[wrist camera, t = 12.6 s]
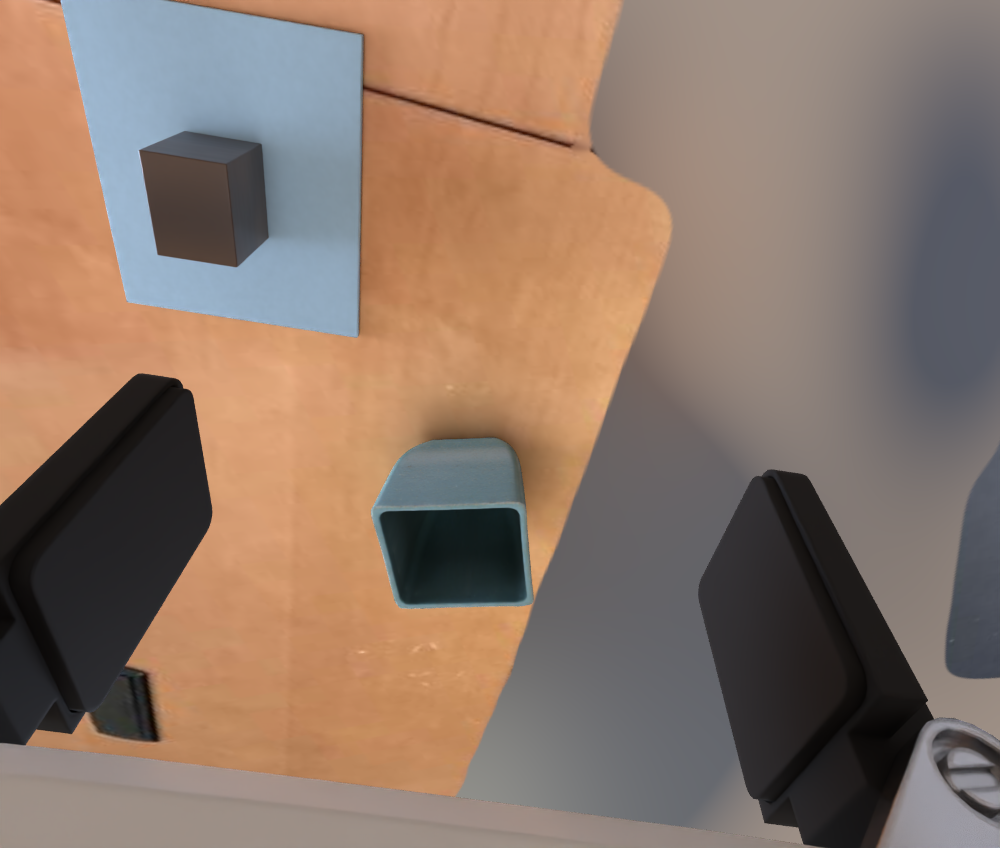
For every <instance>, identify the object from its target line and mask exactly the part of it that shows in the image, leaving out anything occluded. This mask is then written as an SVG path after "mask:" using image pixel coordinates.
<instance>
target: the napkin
mask: <svg viewBox="0 0 1000 848" xmlns="http://www.w3.org/2000/svg"><path fill="white" fill-rule="evenodd" d="M61 4H62V9H63V13H64V18H65V22H66V27H67V32H68V36H69V41H70V45H71V50H72V54H73V59H74V63H75V68H76V72H77V77H78V81H79V86H80V91H81V95H82V100H83V104H84V109H85V113H86V118H87V122H88V127H89V131H90V136H91V140H92V145H93V150H94V154H95V159H96V163H97V168H98V172H99V177H100V181H101V186H102V190H103V195H104V199H105V204H106V209H107V213H108V218H109V222H110V227H111V231H112V236H113V240H114V245H115V249H116V254H117V258H118V263H119V268H120V272H121V277H122V281H123V286H124V290H125V295H126V299H127V302H130V303H136V304H143V305H149V306H156V307H162V308H169V309H175V310H182V311H188V312H195V313H201V314H207V315H214V316H220V317H227V318H233V319H240V320H246V321H253V322H259V323H266V324H272V325H278V326H285V327H291V328H298V329H304V330H311V331H317V332H324V333H330V334H337V335H343V336H350V337H356V338H357V337H358V335H359V295H360V232H361V168H362V105H363V41H364V35H363V34H359V33H353V32H347V31H342V30H336V29H330V28H325V27H319V26H313V25H308V24H302V23H296V22H290V21H285V20H279V19H273V18H268V17H262V16H256V15H251V14H245V13H239V12H234V11H228V10H222V9H216V8H211V7H205V6H199V5H194V4H188V3H182V2H177V1H171V0H61ZM183 131H188V132H194V133H200V134H206V135H212V136H218V137H224V138H230V139H236V140H242V141H248V142H254V143H260V144H262V153H263V167H264V181H265V194H266V208H267V222H268V236H269V238H268V239H267V240H266V241H265V242H264V243H263V244H262V245H261V246H260V247H259V248H257V249H256V250H255V251H254V252H253V253H252V254H251V255H250V256H249V257H248V258H247V259H246V260H245V261H244V262H243V263H241V264H240V265H239V266H238V267H230V266H223V265H217V264H211V263H204V262H198V261H192V260H185V259H179V258H173V257H166V256H160V255H157V250H156V245H155V239H154V234H153V228H152V223H151V217H150V212H149V206H148V201H147V195H146V190H145V184H144V179H143V173H142V168H141V162H140V157H139V150H140V149H142V148H145V147H147V146H149V145H152V144H154V143H157V142H159V141H161V140H164V139H166V138H169V137H171V136H174V135H176V134H178V133H181V132H183Z"/></svg>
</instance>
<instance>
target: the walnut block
mask: <svg viewBox="0 0 1000 848" xmlns="http://www.w3.org/2000/svg"><path fill="white" fill-rule="evenodd" d="M139 157H140V162H141V168H142V173H143V179H144V184H145V190H146V195H147V201H148V206H149V212H150V217H151V223H152V228H153V234H154V239H155V245H156V250H157V255H160V256H166V257H173V258H179V259H185V260H192V261H198V262H204V263H211V264H217V265H223V266H230V267H238V266H239V265H240V264H241V263H243V262H244V261H245V260H246V259H247V258H248V257H249V256H250V255H251V254H252V253H253V252H254V251H255V250H256V249H257V248H259V247H260V246H261V245H262V244H263V243H264V242H265V241H266V240H267V239H268V238H269V236H268V222H267V208H266V194H265V181H264V167H263V153H262V144H260V143H254V142H248V141H242V140H236V139H230V138H224V137H218V136H212V135H206V134H200V133H194V132H188V131H183V132H181V133H178V134H176V135H174V136H171V137H169V138H166V139H164V140H161V141H159V142H157V143H154V144H152V145H149V146H147V147H145V148H142V149H140V150H139Z"/></svg>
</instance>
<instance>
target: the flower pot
mask: <svg viewBox="0 0 1000 848" xmlns="http://www.w3.org/2000/svg"><path fill="white" fill-rule="evenodd" d="M371 515H372V520H373V523H374V527H375V530H376V533H377V537H378V540H379V543H380V546H381V550H382V554H383V557H384V561H385V565H386V569H387V572H388V577H389V581H390V585H391V588H392V592H393V596H394V600H395V602H396V604H397V605H398V606H399V607H400V608H407V609H414V608H420V609H424V608H445V607H486V606H525V605H530V604H532V603H533V600H534V597H533V588H532V578H531V566H530V554H529V542H528V530H527V512H526V503H525V494H524V486H523V479H522V472H521V466H520V462H519V459H518V456H517V454H516V452H515V451H514V449H513V448H512V447H511V446H510V445H509V444H508V443H506V442H505V441H503V440H501V439H499V438H494V437H492V438H472V439H447V440H431V441H428V442H425V443H422V444H420V445H417V446H415V447H414V448H412V449H410V450H409V451H407V452H406V453H405V454H404V455H402V456H401V458H400V459H399V460H398V461H397V462H396V464H395V465H394V467H393V469H392V471H391V472H390V474H389V476H388V478H387V480H386V482H385V484H384V486H383V488H382V490H381V492H380V494H379V496H378V498H377V500H376V502H375V504H374V506H373V508H372V509H371Z"/></svg>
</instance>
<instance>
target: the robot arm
mask: <svg viewBox="0 0 1000 848" xmlns="http://www.w3.org/2000/svg"><path fill="white" fill-rule="evenodd" d="M211 519H212V504H211V498H210V493H209V487H208V481H207V475H206V469H205V463H204V457H203V451H202V445H201V440H200V434H199V428H198V422H197V416H196V410H195V404H194V398H193V395H192V393H191V391H190V390H188V389H183V385H182V383H181V382H180V381H179V380H178V379H176V378H169V377H163V376H156V375H149V374H143V373H142V374H137V375H135V376H134V377H133V378H132V379H131V380H130V381H128V382H127V383H126V384H125V385H124V386H123V387H122V388H121V389H120V390H119V391H118V392H117V393H116V394H115V395H114V396H113V397H112V398H111V399H110V400H109V401H108V402H107V403H106V404H105V405H104V406H103V407H102V408H101V409H100V410H98V411H97V412H96V413H95V414H94V415H93V416H92V417H91V418H90V419H89V420H88V421H87V422H86V423H85V424H84V425H83V426H82V427H81V428H80V429H79V430H78V431H77V432H76V433H75V434H74V435H73V436H72V437H71V438H69V439H68V440H67V441H66V442H65V443H64V444H63V445H62V446H61V447H60V448H59V449H58V450H57V451H56V452H55V453H54V454H53V455H52V456H51V457H50V458H49V459H48V460H47V461H46V462H45V463H44V464H43V465H42V466H41V467H39V468H38V469H37V470H36V471H35V472H34V473H33V474H32V475H31V476H30V477H29V478H28V479H27V480H26V481H25V482H24V483H23V484H22V485H21V486H20V487H19V488H18V489H17V490H16V491H15V492H14V493H13V494H12V495H11V496H9V497H8V498H7V499H6V500H5V501H4V502H3V503H2V504H1V505H0V848H1000V741H999V740H998V739H996V738H995V737H994V736H993V735H991V734H989V733H987V732H986V731H984V730H982V729H980V728H978V727H976V726H975V725H973V724H970V723H967V722H964V721H961V720H958V719H954V718H937V719H934V718H933V716H932V714H931V712H930V711H929V709H928V707H927V705H926V702H927V701H928V699H927V698H926V696H925V694H924V692H923V690H922V688H921V686H920V684H919V683H918V681H917V679H916V677H915V675H914V673H913V672H912V670H911V668H910V666H909V664H908V662H907V660H906V658H905V657H904V655H903V653H902V651H901V649H900V647H899V645H898V643H897V642H896V640H895V638H894V636H893V634H892V632H891V630H890V629H889V627H888V625H887V623H886V621H885V619H884V617H883V616H882V614H881V612H880V610H879V608H878V606H877V604H876V603H875V601H874V599H873V597H872V595H871V593H870V591H869V590H868V588H867V586H866V584H865V582H864V580H863V578H862V577H861V575H860V573H859V571H858V569H857V567H856V565H855V563H854V562H853V560H852V558H851V556H850V554H849V553H848V550H847V549H846V547H845V545H844V543H843V541H842V539H841V537H840V536H839V534H838V532H837V530H836V528H835V526H834V524H833V523H832V521H831V519H830V517H829V515H828V513H827V511H826V509H825V508H824V506H823V504H822V502H821V500H820V498H819V496H818V495H817V493H816V491H815V489H814V487H813V485H812V483H811V482H810V480H809V479H808V477H807V476H805V475H803V474H798V473H791V472H785V471H778V470H767V471H766V472H765V473H764V474H763V475H762V477H761V476H756V477H754V478H753V479H752V481H751V482H750V484H749V486H748V488H747V490H746V492H745V494H744V496H743V498H742V500H741V502H740V504H739V505H738V508H737V510H736V511H735V513H734V515H733V517H732V519H731V521H730V523H729V525H728V527H727V529H726V531H725V533H724V535H723V537H722V539H721V541H720V543H719V545H718V547H717V549H716V551H715V553H714V555H713V557H712V559H711V560H710V562H709V565H708V566H707V568H706V570H705V572H704V574H703V576H702V578H701V581H700V584H699V592H698V596H699V603H700V607H701V610H702V615H703V618H704V623H705V627H706V630H707V634H708V638H709V642H710V646H711V650H712V654H713V658H714V662H715V665H716V670H717V674H718V678H719V682H720V686H721V690H722V694H723V697H724V701H725V705H726V709H727V713H728V717H729V721H730V725H731V729H732V732H733V737H734V740H735V744H736V748H737V752H738V756H739V761H740V764H741V768H742V772H743V776H744V780H745V784H746V787H747V790H748V792H749V794H750V796H751V797H753V799H758V800H759V804H760V807H761V811H762V815H763V819H764V823H768V824H776V825H783V826H792V827H798V828H799V831H800V834H801V838H802V841H803V844H804V845H803V844H796V843H790V842H783V841H776V840H770V839H763V838H757V837H750V836H744V835H737V834H730V833H724V832H717V831H709V830H701V829H694V828H687V827H679V826H672V825H664V824H656V823H649V822H641V821H634V820H627V819H619V818H612V817H604V816H596V815H589V814H582V813H574V812H567V811H559V810H552V809H544V808H536V807H528V806H521V805H513V804H505V803H498V802H490V801H482V800H474V799H466V798H459V797H451V796H443V795H435V794H427V793H420V792H412V791H404V790H396V789H388V788H380V787H372V786H364V785H357V784H349V783H341V782H333V781H325V780H317V779H309V778H301V777H293V776H285V775H276V774H268V773H260V772H252V771H244V770H236V769H228V768H219V767H211V766H203V765H195V764H187V763H179V762H170V761H162V760H154V759H146V758H138V757H130V756H120V755H111V754H101V753H92V752H82V751H73V750H63V749H54V748H44V747H35V746H25V745H26V743H27V742H28V740H29V739H30V737H31V736H32V734H33V733H34V732H35V730H36V729H37V730H45V731H53V732H61V733H68V734H72V733H73V732H74V730H75V728H76V727H77V725H78V724H79V722H80V720H81V719H82V717H83V716H84V714H85V712H93V711H95V710H96V709H97V708H98V707H99V706H100V705H101V704H102V702H103V701H104V699H105V698H106V696H107V695H108V693H109V691H110V690H111V688H112V686H113V685H114V683H115V681H116V680H117V678H118V676H119V675H120V673H121V672H122V670H123V668H124V667H125V665H126V663H127V662H128V660H129V658H130V657H131V655H132V654H133V652H134V650H135V649H136V647H137V645H138V644H139V642H140V640H141V639H142V637H143V635H144V634H145V632H146V631H147V629H148V627H149V626H150V624H151V622H152V621H153V619H154V617H155V616H156V614H157V613H158V611H159V609H160V608H161V606H162V604H163V603H164V601H165V599H166V598H167V596H168V594H169V593H170V591H171V590H172V588H173V586H174V585H175V583H176V581H177V580H178V578H179V576H180V575H181V573H182V572H183V570H184V568H185V567H186V565H187V563H188V562H189V560H190V558H191V557H192V555H193V553H194V552H195V550H196V549H197V547H198V545H199V544H200V542H201V540H202V539H203V537H204V535H205V534H206V532H207V530H208V528H209V526H210V523H211Z"/></svg>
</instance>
